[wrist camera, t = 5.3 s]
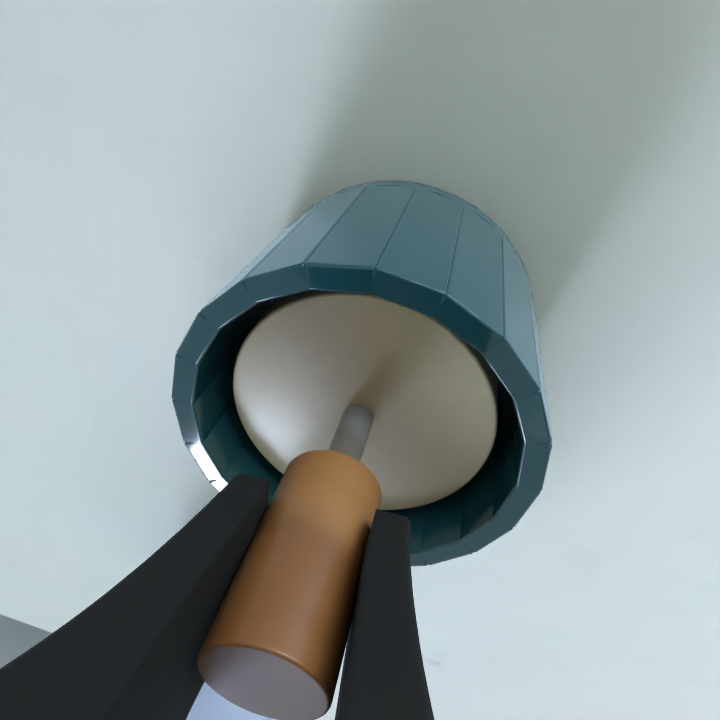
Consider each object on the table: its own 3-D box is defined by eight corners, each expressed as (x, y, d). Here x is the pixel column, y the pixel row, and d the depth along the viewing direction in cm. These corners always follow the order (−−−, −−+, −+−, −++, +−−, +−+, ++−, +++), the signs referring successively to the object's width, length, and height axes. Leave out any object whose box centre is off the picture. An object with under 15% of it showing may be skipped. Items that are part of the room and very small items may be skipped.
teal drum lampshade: (369, 449, 22) (325, 595, 16) (220, 277, 19) (104, 382, 13) (583, 357, 17) (623, 512, 12) (431, 113, 14) (390, 168, 9)
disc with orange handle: (357, 479, 18) (257, 797, 11) (221, 328, 16) (-24, 596, 8) (543, 403, 15) (590, 789, 7) (405, 200, 13) (269, 455, 5)
